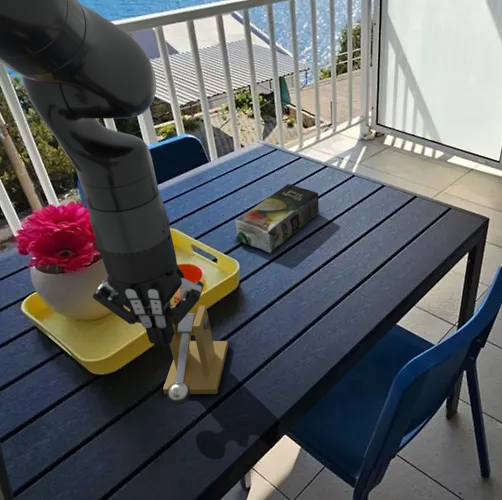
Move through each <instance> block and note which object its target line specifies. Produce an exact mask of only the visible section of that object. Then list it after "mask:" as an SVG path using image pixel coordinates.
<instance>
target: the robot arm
mask: <svg viewBox="0 0 502 500" xmlns="http://www.w3.org/2000/svg"><path fill="white" fill-rule="evenodd" d="M0 63H1V64H2V65H4V66H5V67H7V68H8V69H9V70H11V71H12V72H14V73H15V74H18V75H19V76H20V77H21V80H22V84H23V87H24V90H25V92H26V94H27V96H28V99H29V101H30V102H31V105H33V107H34V109H35V111H36V112H37V114H38V115H39V116H40V117H41V120H42V121H43V122H44V123H45V125H46V127H47V129H48V130H50V132H51V133H52V135H53V137H54V138H55V139H56V141H57V142H58V144H59V145H60V147H61V149H62V150H63V151H64V154H65V155H66V156H67V157H68V159H69V160H70V162H71V163H72V165H73V167H74V169H75V171H76V175H77V177H78V181H79V185H80V188H81V190H82V193H83V196H84V199H85V203H86V206H87V211H88V218H89V221H90V222H89V223H90V226H91V229H92V233H93V235H94V238H95V241H96V244H97V247H98V250H99V253H100V256H101V259H102V262H103V265H104V268H105V271H106V274H107V277H106V279H103V280H101V281H100V283H99V284H98V286H97V287H96V289H95V291H94V293H93V294H92V298H93V299H94V300H95V301H96V302H98V303H99V304H100V305H102V306H103V307H105V308H106V309H107V310H109V311H110V312H112V313H113V314H114V315H116V316H117V317H118V318H120V319H121V320H123V321H124V322H126V323H128V325H134V324H136V323H138V324H141V325H142V327H144V328H145V329H144V330H145V332H146V335H147V338H148V341H149V342H150V344H153V346H154V348H168V347H169V345H170V344H169V343H171V341H172V339H173V336H174V329H173V325H172V324H175V325H177V324H179V323H180V322H181V320H182V319H183V318H184V317H185V316H186V315H187V313H190V311H191V310H192V309H193V308H194V306H196V304H197V303H198V302H199V301H200V299H201V295H202V293H203V290H204V287H205V284H204V282H202V281H200V280H196V281H194V282H192V281H190V280H189V279H188V278H187V279H186V278H185V274H184V272H183V270H182V269H181V268H180V266H179V265H178V261H177V254H176V251H175V246H174V240H173V236H172V232H171V228H170V227H171V225H170V223H171V222H170V218H169V216H168V213H167V210H166V206H165V203H164V201H163V198H162V195H161V192H160V190H159V189H160V188H159V185H158V181H157V177H156V172H155V168H154V163H153V157H152V154H151V151H150V147H149V146H148V144H147V143H146V142H145V141H144V140H143V139H142V138H140V137H138V136H135V135H134V134H130V133H125V132H122V131H117V130H113V129H111V128H108V127H107V126H104V125H103V124H102V123H100V122H99V119H101V120H105V119H106V120H107V119H108V120H109V119H113V120H115V119H116V120H117V119H122V120H123V119H131V118H136V117H138V116H140V115H142V114H144V113H145V112H146V111H147V110H148V109H149V108H150V107H151V105H152V104H153V102H154V99H155V98H156V91H157V78H156V73H155V70H154V67H153V64H152V62H151V60H150V58H149V56H148V55H147V53H146V51H145V50H144V48H143V47H142V46H141V45H140V44H139V42H138V41H137V40H136V39H135V38H134V37H133V36H131V35H130V34H129V33H128V32H127V31H125V30H124V29H123V28H122V27H120V26H118V25H117V24H115V23H113V22H112V21H111V20H109V19H108V18H105V17H103V15H101V14H99V13H98V12H96V11H94V10H93V9H91V8H89V7H87V6H85V5H84V4H82V3H80V2H79V0H0ZM178 290H180V291H181V292H180V297H181V298H180V299H179V300H178V301H177V303H176V304H175V307H173V308H172V305H171V300H172V299H173V298H174V296H175V294H177V292H178ZM0 500H15V497H14V493H13V489H12V486H11V481H10V478H9V474H8V470H7V465H6V461H5V456H4V451H3V447H2V443H1V441H0Z"/></svg>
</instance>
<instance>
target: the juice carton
mask: <svg viewBox="0 0 502 500" xmlns="http://www.w3.org/2000/svg"><path fill="white" fill-rule="evenodd" d="M319 212H320V209H319V193H318V192H316V191H313V190H309V189H307V188H303V187H299V186H296V185H294V184H290V183H287V184H286V185H284V186H282V187H281V188H280V189H279V190H276V191H275V192H274V193H273V194H271V195H269V196H268V197H267V198H265V199H263V200H262V201H261V202H260V203H258V204H257V205H255V206H254V207H253V208H251V209H249V210H248V211H246V212H245V213H244V214H242V215H241V216H240V217H238V218H236V219H235V226H236V241H237V242H238V243H243V244H246V245H249V246H251V247H253V248H256V249H260V250H262V251H265V252H267V253H269V254H271V253H272V252H274V251H275V250H276V249H277V248H278V247H280V246H281V245H282V244H283V243H284V242H286V240H288V239H289V238H290V237H291V236H292V235H294V234H295V233H297V232H298V231H299V230H300V229H302V227H304V226H306V225H307V223H309V222H311V220H313V219H314V218H315V217H317V215H318V214H319Z"/></svg>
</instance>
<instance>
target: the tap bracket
mask: <svg viewBox="0 0 502 500" xmlns="http://www.w3.org/2000/svg"><path fill="white" fill-rule="evenodd" d="M175 305H176V304H175ZM175 305H174V304H173V305H171V308H173V307H175ZM195 315H196V317H195V320H194V323H193V330H194V335H193V336H194V339H195V340H190V346H189V354H188V362H187V370H186V378H185V383H186V384H187V385H188V386H189V387H190V390H191V394H190V395H217V394H218V391H219V386H220V382H221V378H222V374H223V370H224V366H225V362H226V357H227V354H228V349H229V342H228V340H213V335H212V331H211V330H212V329H211V325H210V321H209V319H210V318H209V314H208V310H207V305H199V306H198V308H197V312H196V314H195ZM172 325H173V329H174V336H173V339H172V341H171V343H169V344H168V345H169V349H170V351H171V354H172V358H173V360H172V362H171V364H170V367H169V370H168V372H167V373H168V374H167V377H166V379H165V383H164V385H163V388H162V390H163V394H164V395H167V390H168V388H169V387H170V386H171V385H172V384H173V383H175V381H176V374H177V366H178V359H179V351H180V344H181V336H182V335H181V334H180V333H178V332H177V327H178V324H177V325H175V324H172Z"/></svg>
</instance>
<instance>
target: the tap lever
mask: <svg viewBox="0 0 502 500" xmlns="http://www.w3.org/2000/svg"><path fill="white" fill-rule="evenodd" d="M195 317H196V314H195V313H194V312H188V313H187V315H186V316H185V317H184V318H183V319H182V320H181V322H180V323H179V324H178V327H177V332H178V333H180V334H181V335H182V336H181V344H180V351H179V359H178V366H177V374H176V381H175V383H173V384H172V385H171V386H170V387H169V388H168V390H167V394H166V398H167V400H168V402H169V403H170V404H172V405H175V406H180V405H183V404H185V403H186V402H188V401H189V399H190V397H191V395H192V394H191V390H190V387H189V386H188V385H187V384H186V383H185V378H186V370H187V362H188V354H189V346H190V341H191V337H192V336H195V335H194V330H193V323H194V320H195Z"/></svg>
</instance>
